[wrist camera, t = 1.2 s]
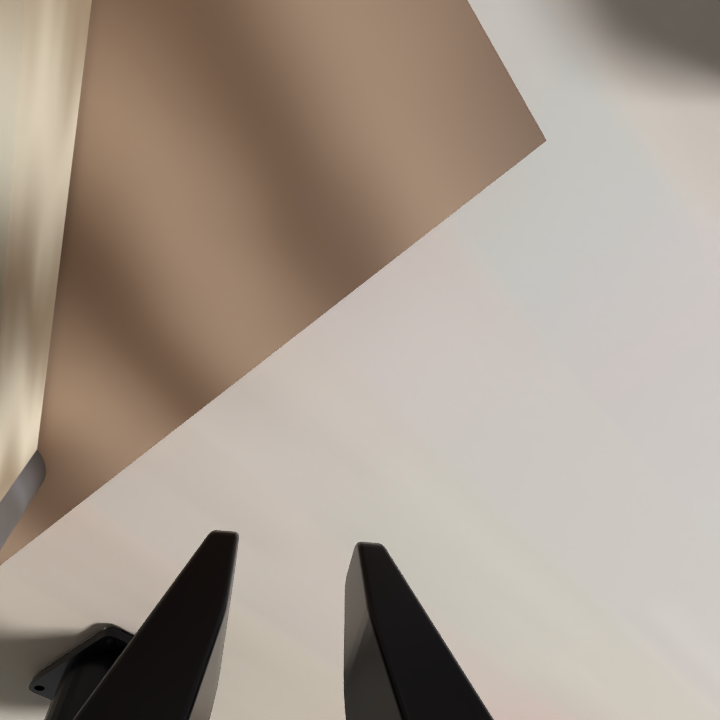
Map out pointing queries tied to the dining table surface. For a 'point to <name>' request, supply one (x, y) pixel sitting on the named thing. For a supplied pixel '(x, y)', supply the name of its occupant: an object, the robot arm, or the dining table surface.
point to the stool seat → (245, 198)
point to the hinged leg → (32, 219)
